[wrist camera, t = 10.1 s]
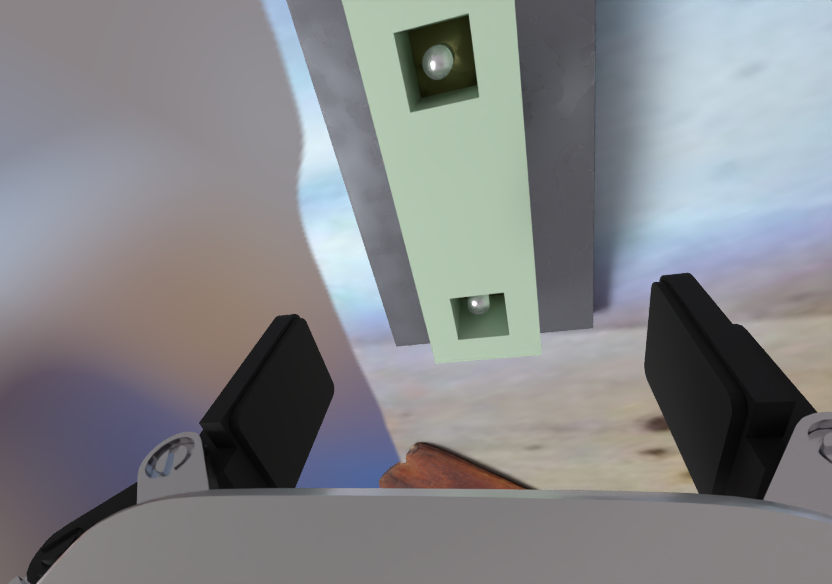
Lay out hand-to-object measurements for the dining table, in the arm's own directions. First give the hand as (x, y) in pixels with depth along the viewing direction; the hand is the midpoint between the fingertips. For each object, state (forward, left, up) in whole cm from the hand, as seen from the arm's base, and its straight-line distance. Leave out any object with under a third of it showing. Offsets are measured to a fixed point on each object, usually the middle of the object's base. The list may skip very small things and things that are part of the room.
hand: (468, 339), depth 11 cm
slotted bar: (0, 0, -13) cm, 13 cm away
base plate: (0, 0, -16) cm, 16 cm away
